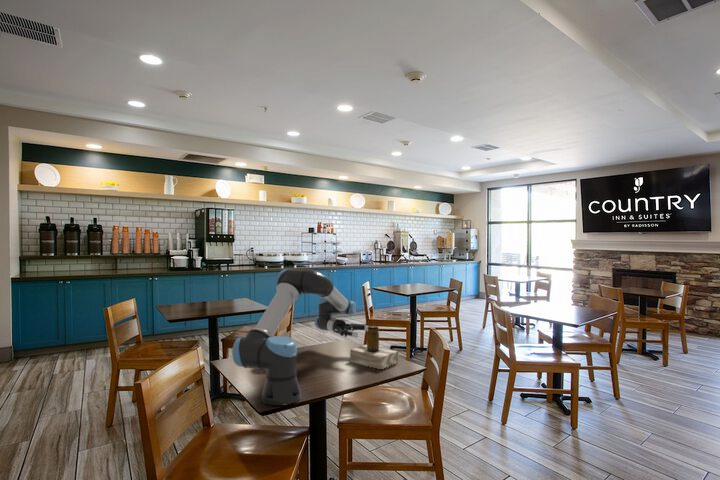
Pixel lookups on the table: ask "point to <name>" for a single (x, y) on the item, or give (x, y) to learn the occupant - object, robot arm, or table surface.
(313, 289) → the robot arm
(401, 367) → the table surface
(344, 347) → the table surface
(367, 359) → the block
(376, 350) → the condiment
